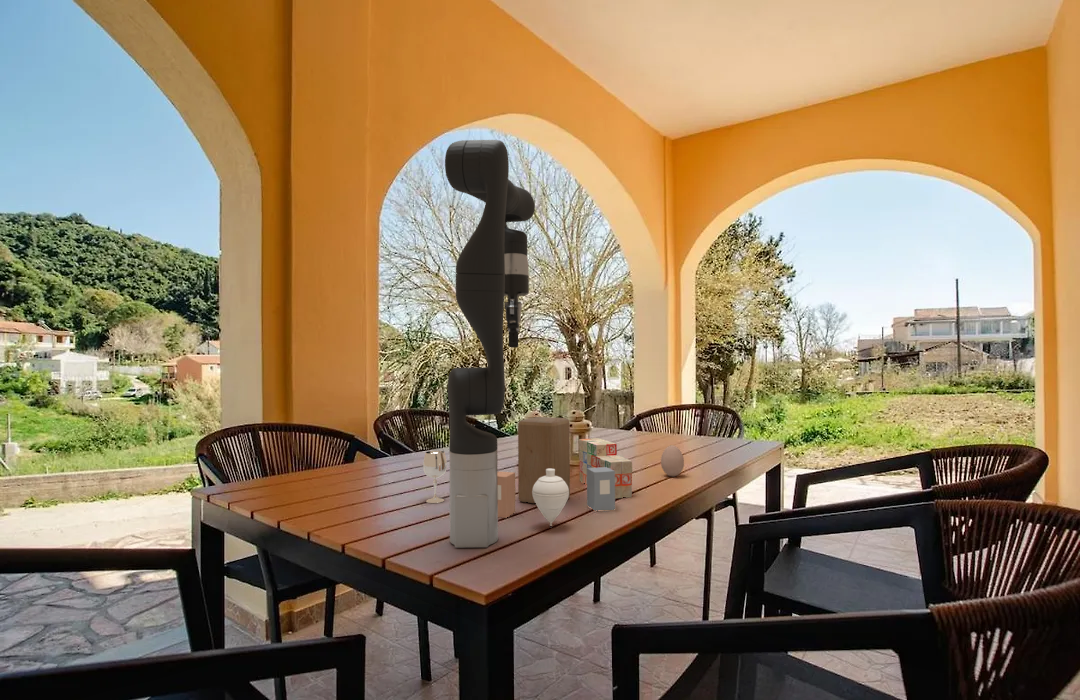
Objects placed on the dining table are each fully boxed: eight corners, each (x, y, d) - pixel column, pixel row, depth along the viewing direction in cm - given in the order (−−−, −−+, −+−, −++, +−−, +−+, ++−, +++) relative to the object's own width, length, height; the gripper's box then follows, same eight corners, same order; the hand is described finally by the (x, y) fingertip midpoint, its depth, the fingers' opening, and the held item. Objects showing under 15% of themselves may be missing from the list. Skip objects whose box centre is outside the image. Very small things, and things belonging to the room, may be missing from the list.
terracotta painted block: (506, 518, 121) (506, 477, 122) (486, 516, 123) (485, 475, 123) (515, 512, 126) (515, 472, 126) (495, 510, 128) (495, 471, 128)
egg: (680, 473, 166) (680, 443, 166) (686, 478, 160) (686, 447, 160) (658, 474, 166) (658, 443, 166) (664, 479, 159) (663, 447, 160)
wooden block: (516, 502, 135) (516, 420, 135) (536, 493, 143) (535, 416, 144) (553, 507, 130) (553, 422, 130) (571, 497, 139) (570, 417, 139)
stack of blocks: (632, 497, 139) (632, 448, 139) (609, 499, 137) (609, 450, 137) (599, 480, 159) (599, 437, 159) (578, 481, 157) (578, 438, 158)
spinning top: (544, 519, 120) (543, 464, 120) (575, 524, 116) (575, 467, 116) (525, 529, 113) (524, 470, 114) (558, 535, 109) (557, 474, 110)
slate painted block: (615, 510, 127) (614, 471, 127) (594, 512, 126) (594, 472, 126) (606, 504, 132) (606, 467, 132) (587, 506, 131) (586, 468, 131)
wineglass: (419, 503, 134) (419, 453, 135) (429, 497, 140) (429, 449, 140) (441, 504, 133) (441, 454, 133) (450, 498, 139) (450, 450, 139)
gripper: (527, 270, 126) (528, 346, 125) (529, 279, 139) (530, 348, 139) (494, 270, 126) (495, 346, 125) (499, 279, 139) (500, 348, 139)
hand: (513, 347), depth 132 cm, fingers closed
